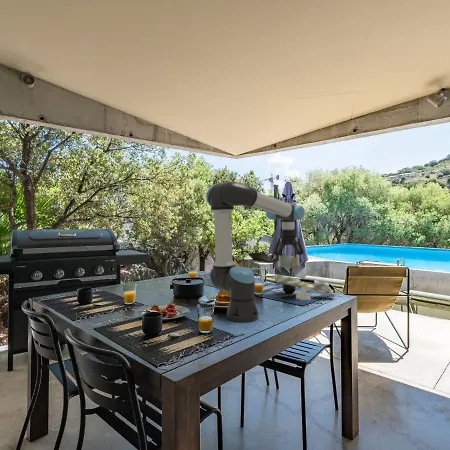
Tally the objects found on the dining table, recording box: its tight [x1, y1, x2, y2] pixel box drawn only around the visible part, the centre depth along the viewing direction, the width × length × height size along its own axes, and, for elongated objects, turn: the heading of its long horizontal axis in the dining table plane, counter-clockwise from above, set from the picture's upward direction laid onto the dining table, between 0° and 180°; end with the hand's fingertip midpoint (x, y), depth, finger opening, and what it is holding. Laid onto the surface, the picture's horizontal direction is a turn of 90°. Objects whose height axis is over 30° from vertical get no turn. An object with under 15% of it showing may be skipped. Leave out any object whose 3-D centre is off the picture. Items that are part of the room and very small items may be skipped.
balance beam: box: [274, 274, 334, 295], centre depth 194 cm, size 33×15×5 cm, turn 75°
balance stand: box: [295, 286, 312, 301], centre depth 194 cm, size 8×12×7 cm, turn 164°
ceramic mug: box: [280, 254, 297, 269], centre depth 196 cm, size 11×8×8 cm
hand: (288, 266), depth 196 cm, fingers closed on ceramic mug, 11 cm apart
